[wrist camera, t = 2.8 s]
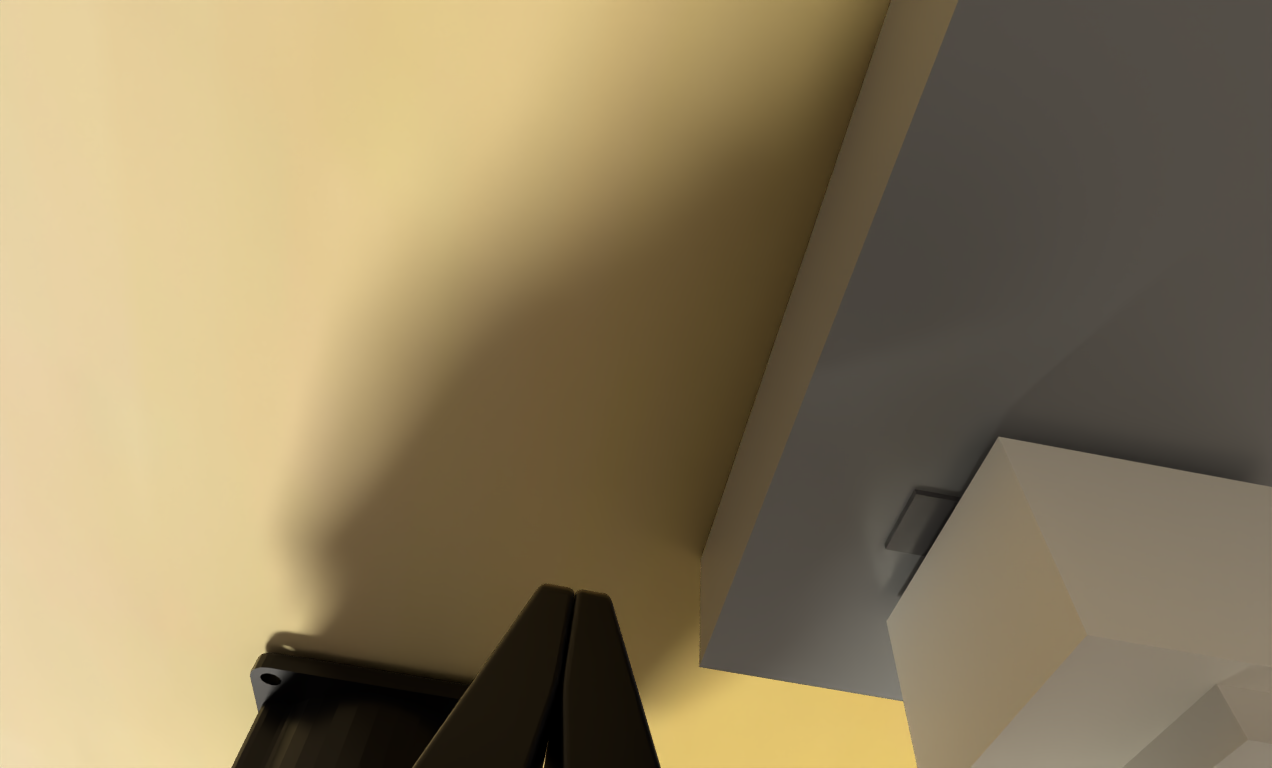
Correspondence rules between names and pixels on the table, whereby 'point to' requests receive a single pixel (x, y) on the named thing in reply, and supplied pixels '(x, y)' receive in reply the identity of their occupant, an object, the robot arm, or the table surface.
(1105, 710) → the tab
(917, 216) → the switch panel
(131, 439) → the table surface
